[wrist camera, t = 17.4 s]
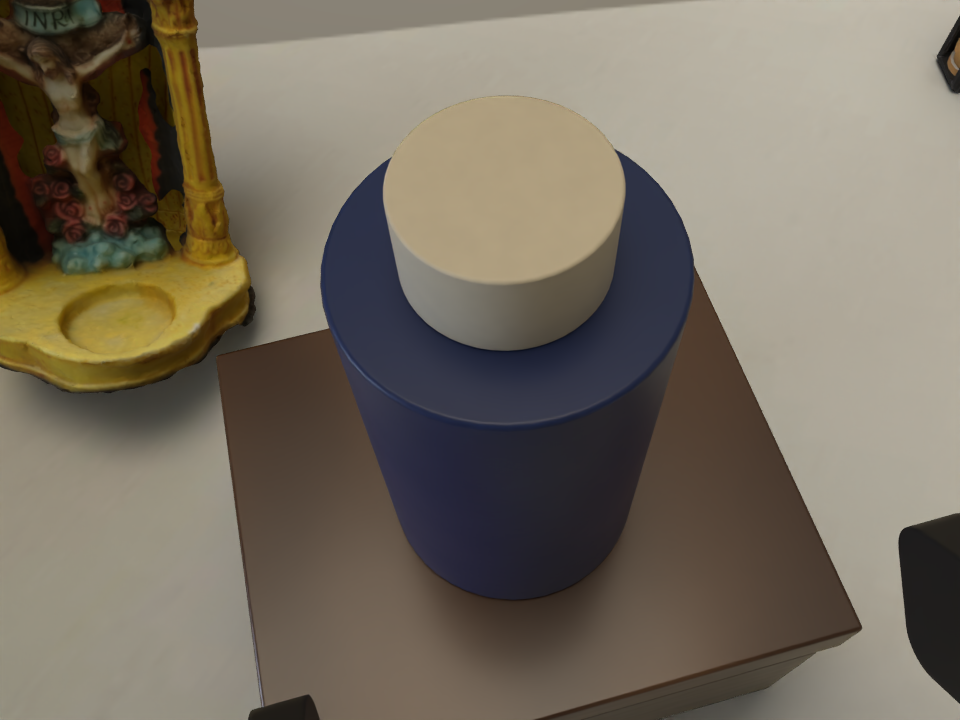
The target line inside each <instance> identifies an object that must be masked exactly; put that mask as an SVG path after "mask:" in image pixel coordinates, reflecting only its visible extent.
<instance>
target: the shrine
mask: <svg viewBox="0 0 960 720" xmlns="http://www.w3.org/2000/svg"><path fill="white" fill-rule="evenodd" d="M197 25H198V22H197V20H196V19H195V16H194V0H0V367H2V368H4V369H7V370H11V371H16V372H23V373H28V374H31V375H33V376H35V377H37V378H39V379H41V380H42V381H44V382H46V383H47V384H52V385H54V386H56V387H57V388H58V389H60V390H61V391H66V392H70V393H80V394H81V393H99V392H104V393H112V392H115V391H119V390H127V389H135V388H138V387H142V386H145V385H147V384H153V383H156V382H159V381H163V380H166V379H168V378H170V377H171V376H173V375H174V374H175V373H176V372H177V371H179V370H181V369H183V368H185V367H188V366H191V365H194V364H197V363H199V362H201V361H202V360H203V359H204V358H205V357H206V356H207V354H208V352H209V351H210V350H211V349H212V348H213V346H215V345H216V344H217V343H218V341H219V340H220V338H221V336H222V335H223V334H224V333H225V331H227V330H228V329H230V328H232V327H234V326H235V325H238V324H240V325H242V326H247V325H248V324H249V323H251V322H252V321H253V316H254V313H255V311H256V307H255V305H254V301H255V292H254V290H253V287H252V286H251V278H250V275H249V271H248V267H247V261H246V260H245V259H244V257H242V256H240V255H239V251H238V249H236V248H235V247H234V246H233V244H232V243H231V239H230V235H229V233H228V225H229V217H228V214H227V210H226V208H225V205H224V201H223V197H224V189H223V186H222V184H221V183H220V181H219V180H218V177H217V170H216V166H215V160H214V155H213V151H212V147H211V137H210V130H209V124H208V120H207V114H206V106H205V100H204V95H203V87H204V86H203V81H202V77H201V73H200V62H199V61H198V59H199V58H198V46H197V39H196V33H197V30H198V29H197Z"/></svg>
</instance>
